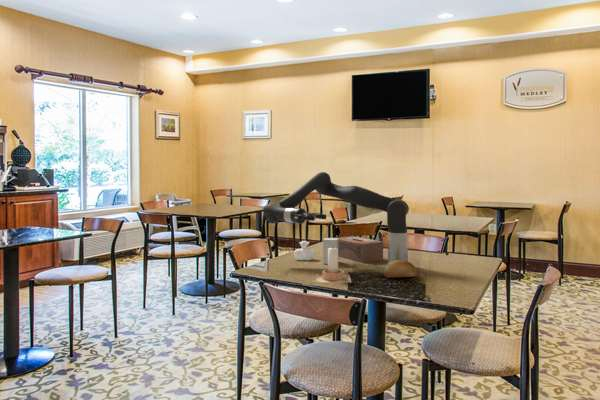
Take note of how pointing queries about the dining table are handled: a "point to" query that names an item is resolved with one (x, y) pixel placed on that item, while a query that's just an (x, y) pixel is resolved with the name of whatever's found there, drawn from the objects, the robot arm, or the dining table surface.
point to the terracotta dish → (333, 275)
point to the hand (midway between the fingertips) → (320, 217)
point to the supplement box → (328, 244)
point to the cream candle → (332, 260)
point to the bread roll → (400, 269)
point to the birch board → (320, 280)
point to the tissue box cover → (360, 249)
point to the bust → (304, 252)
